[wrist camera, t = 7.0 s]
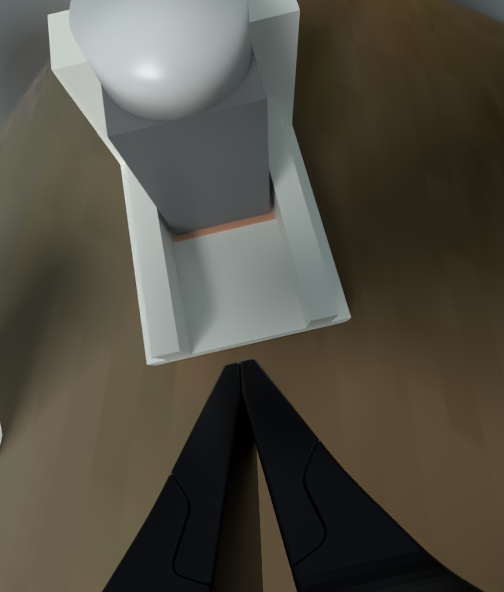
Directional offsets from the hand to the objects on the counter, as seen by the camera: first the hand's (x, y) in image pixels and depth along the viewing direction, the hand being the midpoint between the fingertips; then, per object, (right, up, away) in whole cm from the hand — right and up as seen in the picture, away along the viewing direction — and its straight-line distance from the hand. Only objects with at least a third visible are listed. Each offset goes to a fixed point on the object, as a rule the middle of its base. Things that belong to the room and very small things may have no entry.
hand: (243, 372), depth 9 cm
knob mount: (-1, +7, +9) cm, 11 cm away
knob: (-2, +8, +8) cm, 12 cm away
